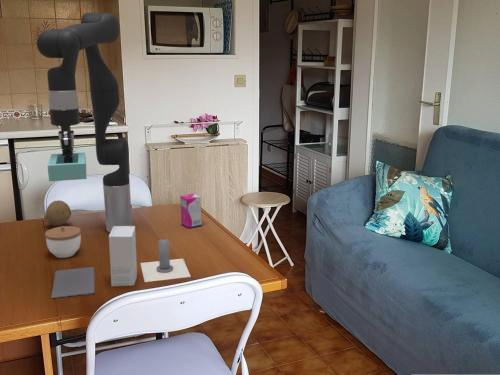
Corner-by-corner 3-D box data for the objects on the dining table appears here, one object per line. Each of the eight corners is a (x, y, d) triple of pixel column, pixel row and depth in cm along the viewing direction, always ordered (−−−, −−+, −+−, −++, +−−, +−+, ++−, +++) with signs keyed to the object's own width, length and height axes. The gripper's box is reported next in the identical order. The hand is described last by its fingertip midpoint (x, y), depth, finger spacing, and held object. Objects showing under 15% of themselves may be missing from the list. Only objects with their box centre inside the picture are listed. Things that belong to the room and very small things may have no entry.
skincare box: (115, 276, 153) (112, 225, 149) (139, 275, 154) (136, 225, 150) (111, 289, 145) (107, 235, 141) (135, 288, 146) (132, 235, 142)
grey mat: (55, 272, 156) (55, 270, 156) (97, 267, 159) (97, 266, 159) (51, 299, 140) (51, 297, 139) (98, 293, 143) (98, 291, 143)
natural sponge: (77, 226, 196) (75, 200, 194) (55, 232, 190) (52, 205, 187) (64, 221, 202) (62, 196, 199) (42, 227, 196) (39, 201, 193)
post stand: (140, 265, 161) (138, 235, 158) (183, 260, 164) (182, 231, 162) (144, 284, 148) (143, 251, 145) (190, 279, 151) (189, 247, 149)
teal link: (52, 168, 148) (51, 154, 147) (86, 166, 150) (85, 152, 149) (49, 181, 133) (47, 165, 132) (86, 178, 135) (85, 163, 134)
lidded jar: (89, 250, 173) (87, 223, 171) (68, 262, 163) (65, 233, 161) (61, 246, 176) (59, 219, 174) (39, 258, 167) (36, 230, 164)
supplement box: (194, 221, 201) (194, 192, 198) (201, 226, 196) (201, 196, 194) (180, 224, 198) (179, 195, 195) (187, 229, 194) (186, 198, 191)
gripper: (50, 105, 149) (56, 165, 154) (47, 110, 136) (53, 175, 141) (78, 104, 151) (83, 163, 156) (78, 109, 139) (83, 173, 143)
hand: (69, 169), depth 148 cm, fingers closed on teal link, 2 cm apart
